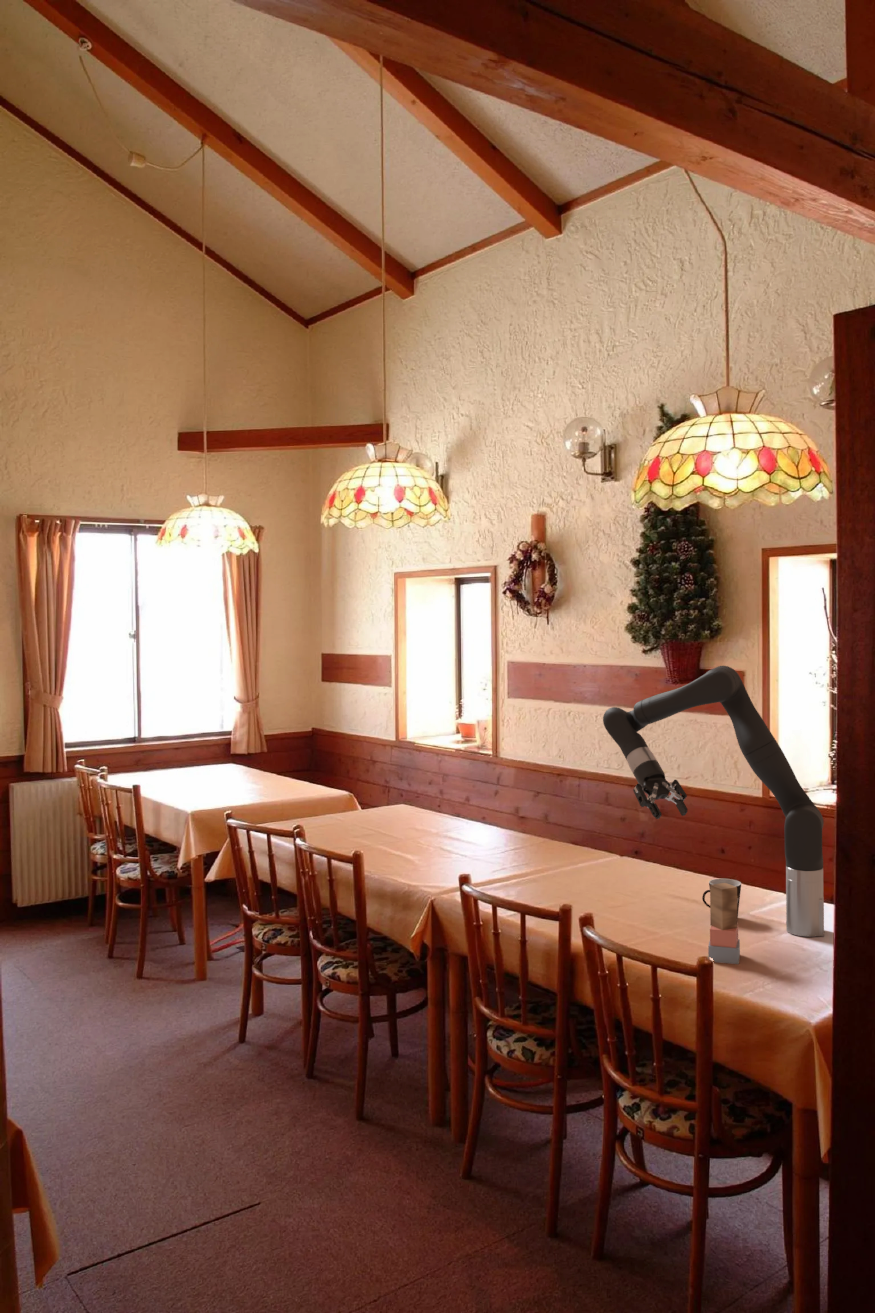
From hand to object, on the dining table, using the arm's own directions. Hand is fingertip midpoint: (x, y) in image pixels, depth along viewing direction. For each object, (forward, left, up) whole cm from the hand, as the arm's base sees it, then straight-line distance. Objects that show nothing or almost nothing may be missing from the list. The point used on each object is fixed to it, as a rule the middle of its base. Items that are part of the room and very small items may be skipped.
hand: (672, 815), depth 270 cm
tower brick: (-14, +20, -27) cm, 36 cm away
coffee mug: (-11, -13, -31) cm, 35 cm away
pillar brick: (-14, +19, -23) cm, 33 cm away
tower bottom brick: (-14, +19, -31) cm, 39 cm away
